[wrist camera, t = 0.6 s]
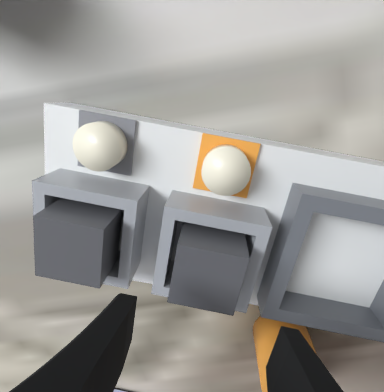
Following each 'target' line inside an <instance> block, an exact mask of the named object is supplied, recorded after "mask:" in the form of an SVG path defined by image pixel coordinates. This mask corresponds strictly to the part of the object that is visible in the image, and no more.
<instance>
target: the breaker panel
mask: <svg viewBox="0 0 384 392" xmlns="http://www.w3.org/2000/svg"><path fill="white" fill-rule="evenodd" d="M44 147H45V175H44V176H41V177H39V178H37V179H35V180H32V191H33V216H34V215H35V214H37V213H38V212H40V211H41V210H43V209H45V208H46V207H48V206H49V205H51V204H52V203H54V202H56V201H57V200H59V199H60V198H65V199H70V200H75V201H80V202H85V203H91V204H96V205H101V206H106V207H111V208H116V209H121V210H122V217H121V228H120V239H119V250H118V260H117V261H116V263H115V265H114V266H113V268H112V270H111V271H110V273H109V274H108V276H107V278H106V279H105V281H104V282H103V284H106V285H111V286H116V287H121V288H126V289H128V288H129V286H130V283H131V281H132V280H135V281H140V282H145V283H150V284H153V286H152V293H151V294H155V295H160V296H165V297H168V295H169V289H170V283H171V278H172V272H173V266H174V261H175V255H176V249H177V244H178V240H179V237H180V233H181V229H182V226H183V222H187V223H192V224H198V225H203V226H208V227H213V228H218V229H223V230H228V231H233V232H238V233H243V234H245V237H246V242H247V247H248V252H249V257H250V260H249V263H248V267H247V270H246V273H245V277H244V280H243V284H242V287H241V291H240V294H239V298H238V301H237V305H236V308H235V311H239V312H244V313H246V312H247V308H248V305H249V304H253V305H258V306H259V310H260V315H261V317H262V318H267V319H272V320H276V321H281V322H286V323H291V324H296V325H301V326H306V327H311V328H316V329H321V330H326V331H331V332H335V333H340V334H345V335H350V336H355V337H360V338H365V339H370V340H375V341H380V342H384V161H380V160H374V159H369V158H364V157H358V156H353V155H348V154H342V153H337V152H332V151H326V150H321V149H316V148H310V147H305V146H300V145H294V144H289V143H284V142H278V141H273V140H268V139H262V138H257V137H252V136H246V135H241V134H236V133H230V132H225V131H219V130H214V129H209V128H203V127H198V126H193V125H187V124H182V123H177V122H171V121H166V120H161V119H155V118H150V117H145V116H139V115H134V114H129V113H123V112H118V111H113V110H107V109H102V108H97V107H91V106H86V105H81V104H75V103H70V102H56V103H44Z"/></svg>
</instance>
